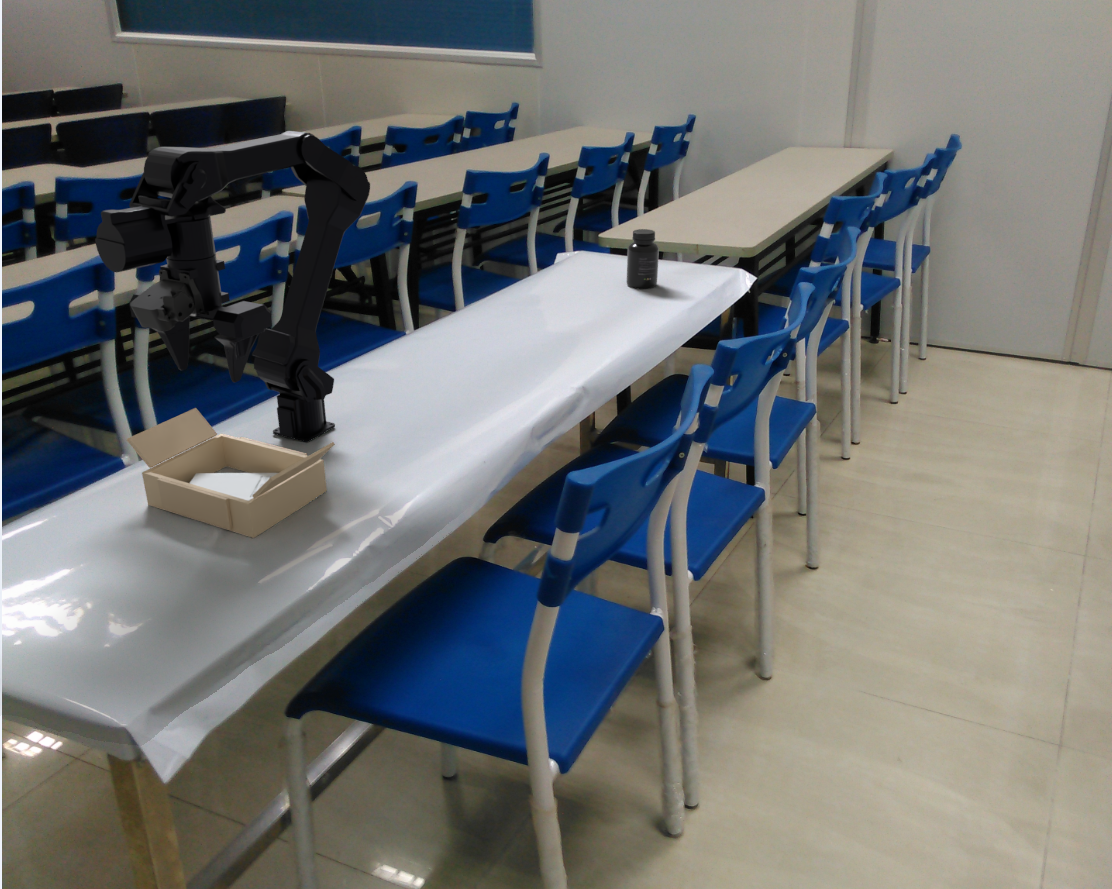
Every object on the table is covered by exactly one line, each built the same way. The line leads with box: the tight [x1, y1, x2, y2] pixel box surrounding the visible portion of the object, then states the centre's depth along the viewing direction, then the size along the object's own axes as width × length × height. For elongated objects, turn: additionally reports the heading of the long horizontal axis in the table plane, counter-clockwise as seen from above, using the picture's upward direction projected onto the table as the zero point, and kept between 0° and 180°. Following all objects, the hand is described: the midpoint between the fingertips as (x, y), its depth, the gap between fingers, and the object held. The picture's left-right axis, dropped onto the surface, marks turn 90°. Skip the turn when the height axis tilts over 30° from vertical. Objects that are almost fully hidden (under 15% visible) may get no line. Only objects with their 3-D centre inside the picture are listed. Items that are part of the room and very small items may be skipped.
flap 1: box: [126, 407, 218, 469], centre depth 122 cm, size 4×11×1 cm
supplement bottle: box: [626, 228, 660, 290], centre depth 210 cm, size 7×7×12 cm
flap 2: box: [253, 441, 336, 499], centre depth 114 cm, size 4×11×1 cm
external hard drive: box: [190, 472, 278, 501], centre depth 120 cm, size 2×8×12 cm
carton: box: [141, 433, 328, 539], centre depth 120 cm, size 14×17×4 cm
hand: (209, 375), depth 123 cm, fingers open, 9 cm apart
